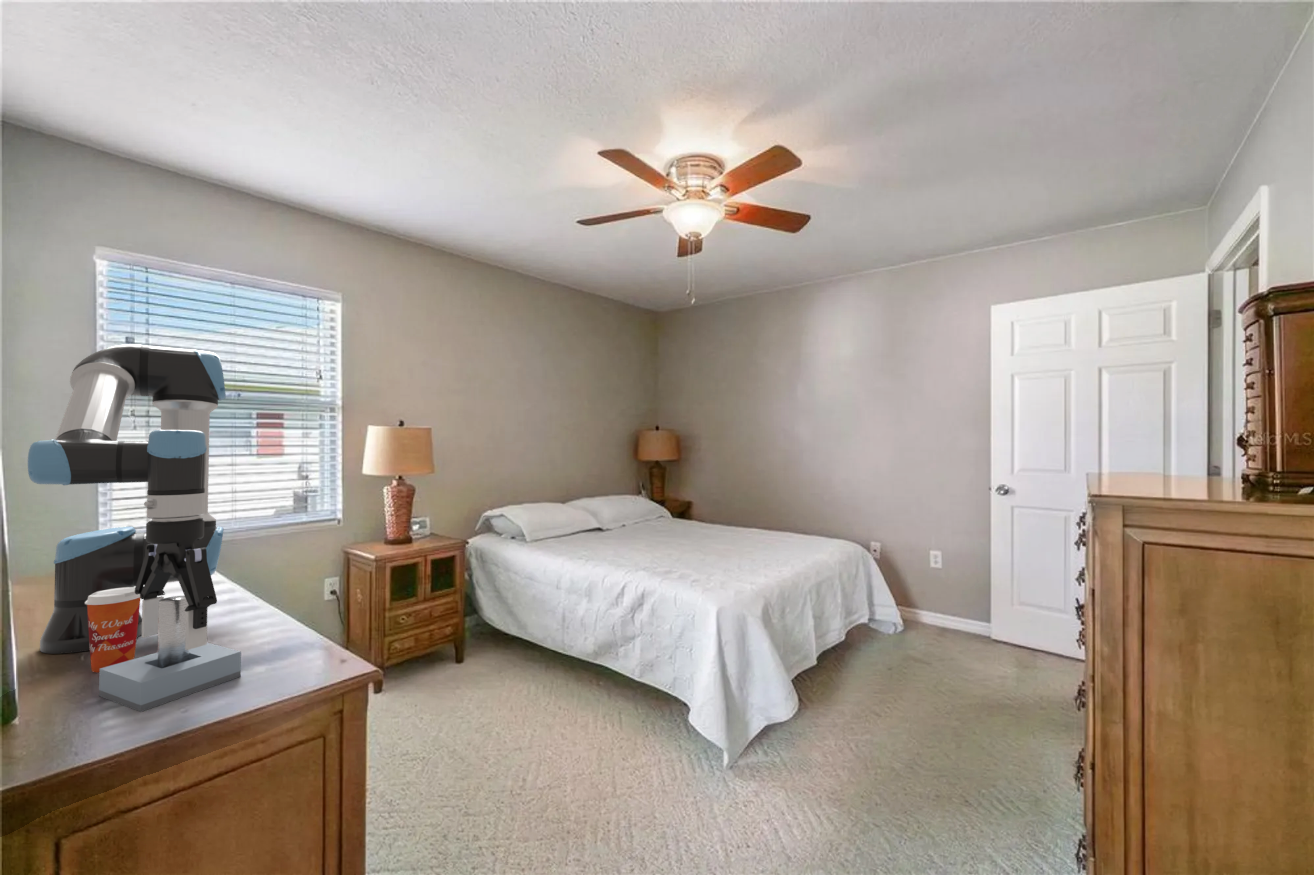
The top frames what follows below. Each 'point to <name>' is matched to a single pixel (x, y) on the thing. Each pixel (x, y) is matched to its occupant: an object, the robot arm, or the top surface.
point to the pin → (172, 631)
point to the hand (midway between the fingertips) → (173, 641)
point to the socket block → (167, 677)
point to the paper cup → (112, 626)
